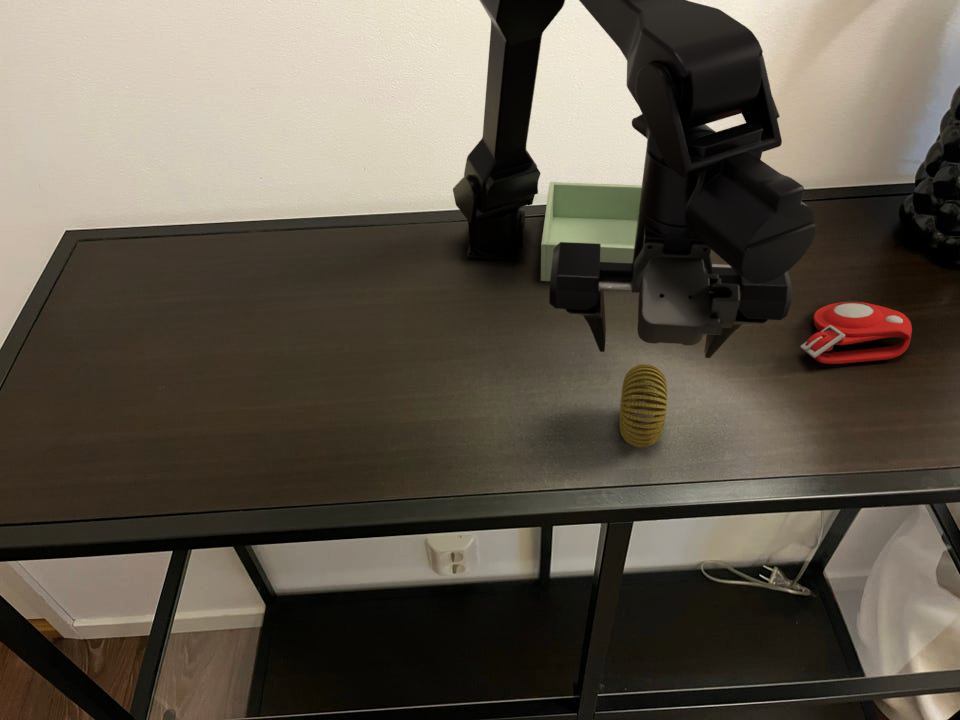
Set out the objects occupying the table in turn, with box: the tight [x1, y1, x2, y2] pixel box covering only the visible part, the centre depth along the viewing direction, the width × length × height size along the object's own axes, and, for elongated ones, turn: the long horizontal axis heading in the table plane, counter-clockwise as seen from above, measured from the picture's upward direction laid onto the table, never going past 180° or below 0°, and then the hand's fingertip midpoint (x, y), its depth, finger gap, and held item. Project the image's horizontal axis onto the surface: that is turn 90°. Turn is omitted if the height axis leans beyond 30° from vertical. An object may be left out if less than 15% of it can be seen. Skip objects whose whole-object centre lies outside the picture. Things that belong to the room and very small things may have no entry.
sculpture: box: [618, 363, 668, 448], centre depth 71 cm, size 8×4×8 cm, turn 170°
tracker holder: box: [800, 301, 913, 365], centre depth 80 cm, size 12×4×10 cm
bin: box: [540, 181, 642, 282], centre depth 93 cm, size 13×13×6 cm
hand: (654, 351), depth 67 cm, fingers open, 9 cm apart
